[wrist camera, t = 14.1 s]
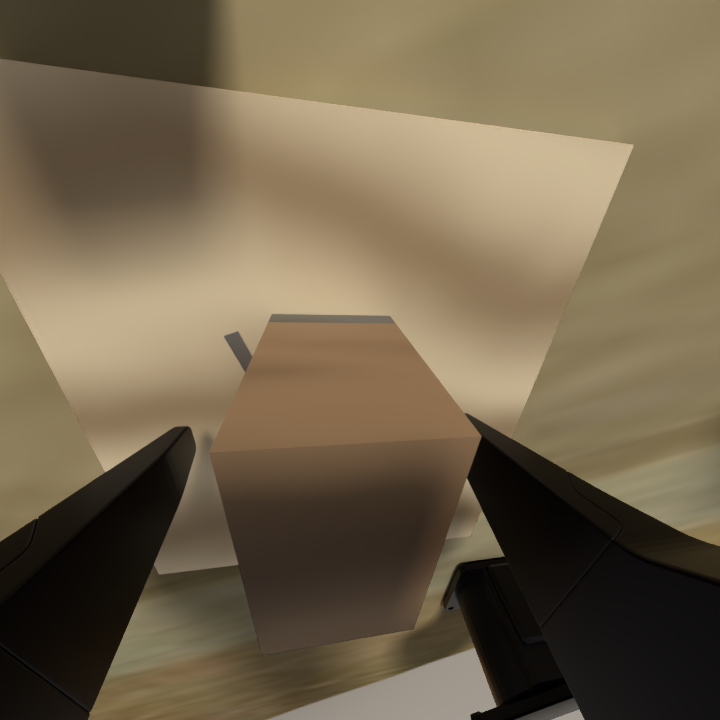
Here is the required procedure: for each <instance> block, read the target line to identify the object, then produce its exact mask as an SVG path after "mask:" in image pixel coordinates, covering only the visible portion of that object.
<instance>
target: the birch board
mask: <svg viewBox="0 0 720 720" xmlns="http://www.w3.org/2000/svg"><path fill="white" fill-rule="evenodd" d="M633 146H634V145H631V144H623V143H616V142H609V141H601V140H594V139H587V138H579V137H572V136H565V135H557V134H550V133H542V132H535V131H528V130H520V129H513V128H506V127H498V126H491V125H484V124H476V123H469V122H462V121H454V120H447V119H439V118H432V117H425V116H417V115H410V114H403V113H395V112H388V111H381V110H373V109H366V108H358V107H351V106H344V105H336V104H329V103H322V102H314V101H307V100H300V99H292V98H285V97H278V96H270V95H263V94H255V93H248V92H241V91H233V90H226V89H219V88H211V87H204V86H197V85H189V84H182V83H174V82H167V81H160V80H152V79H145V78H138V77H130V76H123V75H116V74H108V73H101V72H94V71H86V70H79V69H71V68H64V67H57V66H49V65H42V64H35V63H27V62H20V61H13V60H5V59H0V273H1V275H2V276H3V278H4V280H5V282H6V284H7V286H8V288H9V290H10V292H11V294H12V296H13V297H14V299H15V301H16V303H17V305H18V307H19V309H20V311H21V313H22V315H23V316H24V318H25V320H26V322H27V324H28V326H29V328H30V330H31V332H32V334H33V336H34V337H35V339H36V341H37V343H38V345H39V347H40V349H41V351H42V353H43V355H44V356H45V358H46V360H47V362H48V364H49V366H50V368H51V370H52V372H53V374H54V376H55V377H56V379H57V381H58V383H59V385H60V387H61V389H62V391H63V393H64V395H65V396H66V398H67V400H68V402H69V404H70V406H71V408H72V410H73V412H74V414H75V416H76V417H77V419H78V421H79V423H80V425H81V427H82V429H83V431H84V433H85V435H86V436H87V438H88V440H89V442H90V444H91V446H92V448H93V450H94V452H95V454H96V456H97V457H98V459H99V461H100V463H101V465H102V467H103V469H104V471H105V472H107V471H108V470H110V469H111V468H113V467H114V466H116V465H117V464H119V463H120V462H122V461H123V460H125V459H126V458H128V457H130V456H131V455H133V454H134V453H136V452H137V451H139V450H140V449H142V448H143V447H145V446H146V445H148V444H149V443H151V442H152V441H154V440H155V439H157V438H158V437H160V436H161V435H163V434H164V433H166V432H167V431H169V430H170V429H172V428H174V427H177V426H189V427H190V428H191V430H192V433H193V436H194V440H195V443H196V453H195V457H194V460H193V463H192V466H191V470H190V473H189V476H188V480H187V483H186V486H185V490H184V493H183V496H182V499H181V501H180V504H179V506H178V509H177V511H176V513H175V516H174V518H173V521H172V523H171V525H170V528H169V530H168V532H167V535H166V537H165V539H164V542H163V544H162V546H161V549H160V551H159V553H158V556H157V558H156V560H155V563H154V566H155V568H156V570H157V572H158V574H159V575H160V574H169V573H177V572H185V571H193V570H201V569H209V568H217V567H226V566H234V565H238V561H237V558H236V554H235V550H234V546H233V542H232V538H231V535H230V531H229V527H228V523H227V519H226V516H225V512H224V508H223V504H222V500H221V496H220V493H219V489H218V485H217V481H216V477H215V473H214V470H213V466H212V462H211V458H210V454H209V452H210V449H211V447H212V445H213V443H214V441H215V438H216V436H217V434H218V432H219V430H220V427H221V425H222V423H223V421H224V419H225V416H226V414H227V412H228V410H229V407H230V405H231V403H232V401H233V399H234V396H235V394H236V392H237V390H238V388H239V385H240V383H241V381H242V379H243V377H244V374H245V372H246V370H247V368H248V366H249V363H250V361H251V359H252V357H253V355H254V352H255V350H256V348H257V346H258V344H259V341H260V339H261V337H262V335H263V333H264V330H265V328H266V326H267V324H268V322H269V319H270V317H271V315H272V314H304V315H369V316H390V317H391V318H392V319H393V320H394V322H395V323H396V324H397V326H398V327H399V328H400V330H401V331H402V332H403V334H404V335H405V336H406V338H407V339H408V340H409V342H410V343H411V344H412V345H413V347H414V348H415V349H416V351H417V352H418V353H419V355H420V356H421V357H422V359H423V360H424V361H425V363H426V364H427V365H428V366H429V368H430V369H431V370H432V372H433V373H434V374H435V376H436V377H437V378H438V380H439V381H440V382H441V384H442V385H443V386H444V388H445V389H446V390H447V391H448V393H449V394H450V395H451V397H452V398H453V399H454V401H455V402H456V403H457V405H458V406H459V407H460V409H461V410H462V411H463V412H464V413H468V414H470V415H472V416H473V417H475V418H477V419H478V420H480V421H482V422H484V423H485V424H487V425H489V426H490V427H492V428H494V429H496V430H497V431H499V432H501V433H503V434H504V435H506V436H508V437H509V438H512V435H513V433H514V431H515V428H516V426H517V423H518V421H519V419H520V416H521V414H522V411H523V409H524V407H525V404H526V402H527V399H528V397H529V395H530V392H531V390H532V388H533V385H534V383H535V380H536V378H537V376H538V373H539V371H540V368H541V366H542V364H543V361H544V359H545V356H546V354H547V352H548V349H549V347H550V344H551V342H552V340H553V337H554V335H555V333H556V330H557V328H558V325H559V323H560V321H561V318H562V316H563V313H564V311H565V309H566V306H567V304H568V301H569V299H570V297H571V294H572V292H573V290H574V287H575V285H576V282H577V280H578V278H579V275H580V273H581V270H582V268H583V266H584V263H585V261H586V258H587V256H588V254H589V251H590V249H591V247H592V244H593V242H594V239H595V237H596V235H597V232H598V230H599V227H600V225H601V223H602V220H603V218H604V215H605V213H606V211H607V208H608V206H609V203H610V201H611V199H612V196H613V194H614V192H615V189H616V187H617V184H618V182H619V180H620V177H621V175H622V172H623V170H624V168H625V165H626V163H627V160H628V158H629V156H630V153H631V151H632V149H633ZM481 509H482V508H481V506H480V504H479V502H478V500H477V498H476V496H475V494H474V492H473V490H472V488H471V486H470V484H469V482H468V480H467V479H466V482H465V485H464V488H463V491H462V493H461V496H460V499H459V502H458V505H457V508H456V510H455V513H454V516H453V519H452V522H451V525H450V527H449V530H448V533H447V536H446V539H454V538H462V537H470V536H471V533H472V531H473V529H474V526H475V524H476V521H477V519H478V517H479V514H480V512H481Z"/></svg>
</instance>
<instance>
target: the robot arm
mask: <svg viewBox="0 0 720 720" xmlns="http://www.w3.org/2000/svg"><path fill="white" fill-rule="evenodd" d="M464 414H465V415H466V416H467V418H468V419H469V420H470V422H471V423H472V424H473V426H474V427H475V428H476V430H477V431H478V432H479V433H480V435H481V436H482V437H481V439H480V442H479V445H478V448H477V451H476V454H475V456H474V459H473V462H472V465H471V468H470V471H469V473H468V476H467V480H468V482H469V484H470V486H471V488H472V490H473V492H474V494H475V496H476V498H477V500H478V502H479V504H480V506H481V508H482V510H483V512H484V515H485V517H486V519H487V521H488V523H489V525H490V527H491V529H492V531H493V533H494V535H495V537H496V539H497V541H498V543H499V545H500V547H501V549H502V551H503V553H504V555H505V557H506V558H505V559H498V560H490V561H483V562H476V563H469V564H464V565H461V566H460V567H459V568H458V570H457V572H456V575H455V577H454V579H453V582H452V584H451V586H450V589H449V591H448V594H447V596H446V598H445V601H444V603H443V605H444V608H445V611H454V610H460V609H461V611H462V614H463V617H464V620H465V622H466V625H467V628H468V630H469V633H470V636H471V638H472V641H473V644H474V646H475V649H476V652H477V655H478V657H479V660H480V662H481V665H482V668H483V671H484V673H485V676H486V679H487V682H488V684H489V687H490V689H491V692H492V695H493V698H494V700H495V703H496V705H497V707H496V708H493V709H491V710H488V711H485V712H483V713H481V712H476V713H473V714H471V720H551V719H554V718H556V717H559V716H562V715H565V714H567V713H570V712H573V711H576V710H578V709H580V711H581V713H582V715H583V717H584V719H585V720H720V546H717V545H713V544H710V543H707V542H704V541H701V540H698V539H696V538H693V537H691V536H688V535H686V534H684V533H682V532H680V531H678V530H676V529H674V528H672V527H670V526H669V525H667V524H665V523H663V522H661V521H659V520H657V519H655V518H653V517H651V516H649V515H647V514H645V513H643V512H641V511H640V510H638V509H636V508H634V507H632V506H630V505H628V504H626V503H624V502H622V501H620V500H618V499H617V498H615V497H613V496H611V495H609V494H607V493H605V492H603V491H601V490H600V489H598V488H596V487H594V486H593V485H591V484H589V483H587V482H585V481H584V480H582V479H580V478H578V477H577V476H575V475H573V474H572V473H570V472H567V471H566V470H565V469H563V468H561V467H559V466H558V465H556V464H554V463H553V462H551V461H549V460H547V459H546V458H544V457H542V456H540V455H539V454H537V453H535V452H534V451H532V450H530V449H528V448H527V447H525V446H523V445H522V444H520V443H518V442H516V441H515V440H513V439H511V438H509V437H508V436H506V435H504V434H503V433H501V432H499V431H497V430H496V429H494V428H492V427H490V426H489V425H487V424H485V423H484V422H482V421H480V420H478V419H477V418H475V417H473V416H472V415H470V414H468V413H464ZM195 453H196V443H195V440H194V436H193V433H192V430H191V428H190V427H189V426H177V427H174V428H172V429H170V430H169V431H167V432H166V433H164V434H163V435H161V436H160V437H158V438H157V439H155V440H154V441H152V442H151V443H149V444H148V445H146V446H145V447H143V448H142V449H140V450H139V451H137V452H136V453H134V454H133V455H131V456H130V457H128V458H126V459H125V460H123V461H122V462H120V463H119V464H117V465H116V466H114V467H113V468H111V469H110V470H108V471H107V472H105V473H104V474H102V475H101V476H99V477H98V478H96V479H95V480H93V481H92V482H90V483H89V484H87V485H86V486H84V487H83V488H81V489H80V490H78V491H77V492H75V493H74V494H72V495H71V496H69V497H68V498H66V499H64V500H63V501H61V502H60V503H58V504H57V505H55V506H54V507H52V508H51V509H49V510H48V511H46V512H45V513H43V514H42V515H40V516H39V517H38V519H34V520H33V521H31V522H30V523H28V524H27V525H25V526H24V527H22V528H21V529H19V530H18V531H16V532H14V533H13V534H11V535H10V536H8V537H7V538H5V539H4V540H2V541H1V542H0V720H88V718H89V715H90V713H89V712H90V711H91V710H92V708H93V705H94V703H95V701H96V698H97V696H98V694H99V691H100V689H101V687H102V684H103V682H104V680H105V677H106V675H107V673H108V670H109V668H110V666H111V663H112V661H113V659H114V656H115V654H116V652H117V649H118V647H119V645H120V642H121V640H122V638H123V635H124V633H125V631H126V628H127V626H128V624H129V621H130V619H131V616H132V614H133V612H134V609H135V607H136V605H137V602H138V600H139V598H140V595H141V593H142V591H143V588H144V586H145V584H146V581H147V579H148V577H149V574H150V572H151V570H152V567H153V565H154V563H155V560H156V558H157V556H158V553H159V551H160V549H161V546H162V544H163V542H164V539H165V537H166V535H167V532H168V530H169V528H170V525H171V523H172V521H173V518H174V516H175V513H176V511H177V509H178V506H179V504H180V501H181V499H182V496H183V493H184V490H185V486H186V483H187V480H188V476H189V473H190V470H191V466H192V463H193V460H194V457H195Z"/></svg>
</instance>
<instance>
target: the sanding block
mask: <svg viewBox="0 0 720 720" xmlns="http://www.w3.org/2000/svg"><path fill="white" fill-rule="evenodd" d="M481 437H482V436H481V435H480V433H479V432H478V431H477V430H476V428H475V427H474V426H473V424H472V423H471V422H470V420H469V419H468V418H467V416H466V415H465V414H464V412H463V411H462V410H461V409H460V407H459V406H458V405H457V403H456V402H455V401H454V399H453V398H452V397H451V395H450V394H449V393H448V391H447V390H446V389H445V388H444V386H443V385H442V384H441V382H440V381H439V380H438V378H437V377H436V376H435V374H434V373H433V372H432V370H431V369H430V368H429V366H428V365H427V364H426V363H425V361H424V360H423V359H422V357H421V356H420V355H419V353H418V352H417V351H416V349H415V348H414V347H413V345H412V344H411V343H410V342H409V340H408V339H407V338H406V336H405V335H404V334H403V332H402V331H401V330H400V328H399V327H398V326H397V324H396V323H395V322H394V320H393V319H392V318H391V317H390V316H369V315H304V314H272V315H271V317H270V319H269V322H268V324H267V326H266V328H265V330H264V333H263V335H262V337H261V339H260V341H259V344H258V346H257V348H256V350H255V352H254V355H253V357H252V359H251V361H250V363H249V366H248V368H247V370H246V372H245V374H244V377H243V379H242V381H241V383H240V385H239V388H238V390H237V392H236V394H235V396H234V399H233V401H232V403H231V405H230V407H229V410H228V412H227V414H226V416H225V419H224V421H223V423H222V425H221V427H220V430H219V432H218V434H217V436H216V438H215V441H214V443H213V445H212V447H211V449H210V452H209V454H210V458H211V462H212V466H213V470H214V473H215V477H216V481H217V485H218V489H219V493H220V496H221V500H222V504H223V508H224V512H225V516H226V519H227V523H228V527H229V531H230V535H231V538H232V542H233V546H234V550H235V554H236V558H237V561H238V565H239V569H240V573H241V577H242V581H243V584H244V588H245V592H246V596H247V600H248V604H249V607H250V611H251V615H252V619H253V623H254V627H255V630H256V634H257V638H258V642H259V646H260V650H261V653H262V656H263V655H269V654H274V653H280V652H286V651H291V650H297V649H303V648H309V647H314V646H320V645H326V644H332V643H337V642H343V641H349V640H355V639H360V638H366V637H372V636H378V635H383V634H389V633H395V632H401V631H406V630H412V629H414V627H415V624H416V621H417V618H418V615H419V613H420V610H421V607H422V604H423V601H424V598H425V596H426V593H427V590H428V587H429V584H430V581H431V579H432V576H433V573H434V570H435V567H436V564H437V562H438V559H439V556H440V553H441V550H442V547H443V544H444V542H445V539H446V536H447V533H448V530H449V527H450V525H451V522H452V519H453V516H454V513H455V510H456V508H457V505H458V502H459V499H460V496H461V493H462V491H463V488H464V485H465V482H466V479H467V476H468V473H469V471H470V468H471V465H472V462H473V459H474V456H475V454H476V451H477V448H478V445H479V442H480V439H481Z"/></svg>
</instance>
